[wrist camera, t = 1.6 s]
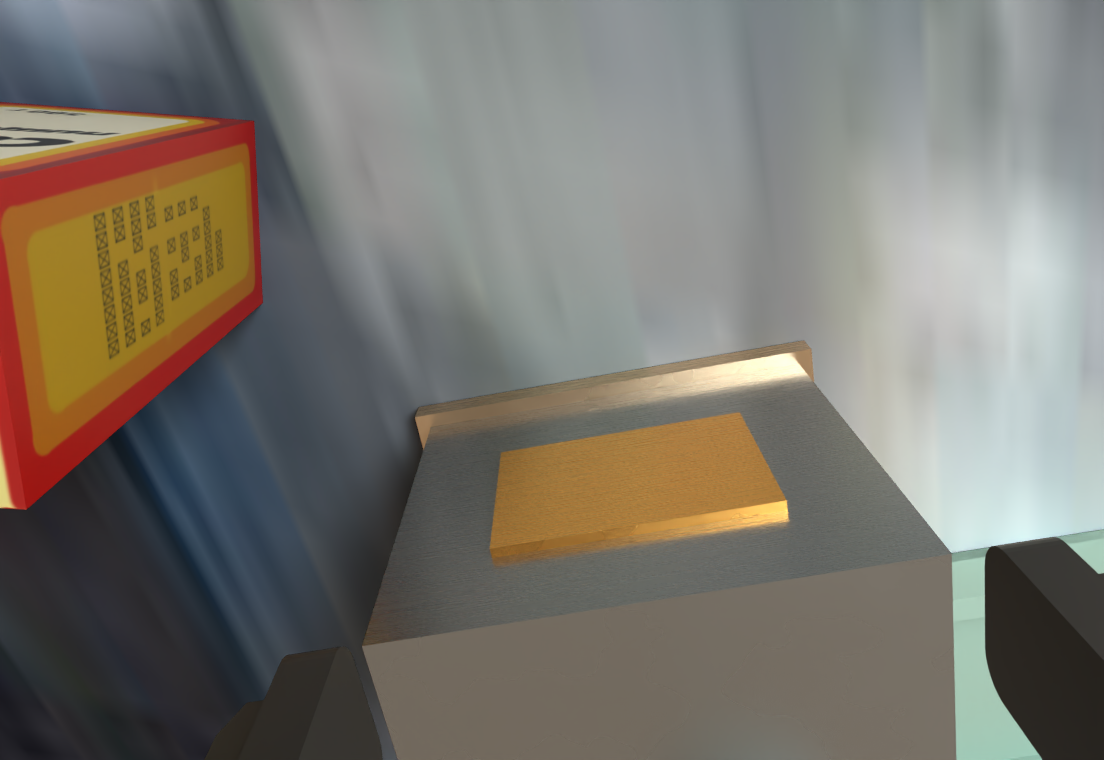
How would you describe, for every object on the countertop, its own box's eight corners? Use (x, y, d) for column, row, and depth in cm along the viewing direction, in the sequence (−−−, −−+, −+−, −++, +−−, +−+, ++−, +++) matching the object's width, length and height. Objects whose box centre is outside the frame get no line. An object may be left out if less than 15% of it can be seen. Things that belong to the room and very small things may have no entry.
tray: (1126, 525, 36) (1176, 566, 33) (1113, 749, 40) (1156, 802, 37) (835, 571, 36) (859, 614, 34) (852, 786, 41) (874, 840, 38)
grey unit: (803, 340, 33) (973, 531, 20) (820, 542, 36) (976, 823, 23) (418, 407, 34) (336, 632, 21) (468, 598, 37) (424, 900, 24)
